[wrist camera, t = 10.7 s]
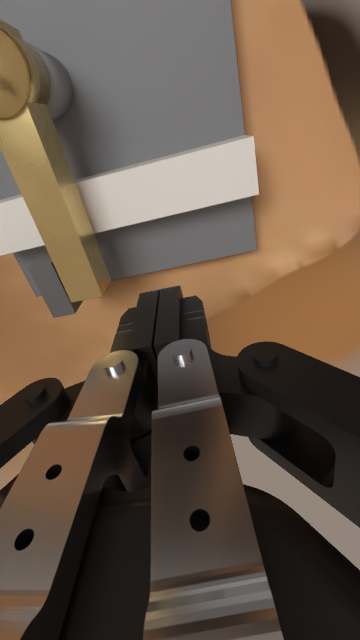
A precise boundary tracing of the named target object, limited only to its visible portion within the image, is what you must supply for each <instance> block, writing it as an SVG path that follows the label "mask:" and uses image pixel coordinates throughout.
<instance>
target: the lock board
mask: <svg viewBox="0 0 360 640" xmlns="http://www.w3.org/2000/svg"><path fill="white" fill-rule="evenodd" d="M0 19H1V20H2V21H4V22H6V23H8V24H9V25H11V26H13V27H15V28H16V29H18V30H19V31H20V33H21V36H22V39H23V41H25V42H26V43H28V44H29V45H30V46H31V47H32V48H33V49H34V50H35V51H36V52H37V53H38V55H39V56H40V58H41V59H42V61H43V63H44V65H45V67H46V70H47V73H48V76H49V81H50V96H49V100H48V103H47V107H48V110H49V112H50V115H51V118H52V121H53V123H54V126H55V129H56V131H57V134H58V137H59V140H60V142H61V145H62V148H63V150H64V153H65V156H66V159H67V161H68V164H69V167H70V170H71V172H72V175H73V178H74V180H75V183H76V186H77V189H78V191H79V194H80V197H81V199H82V202H83V205H84V208H85V210H86V213H87V216H88V219H89V221H90V224H91V227H92V229H93V232H94V235H95V238H96V240H97V243H98V246H99V249H100V251H101V254H102V257H103V259H104V262H105V265H106V268H107V270H108V273H109V276H110V278H111V281H113V280H118V279H122V278H127V277H132V276H137V275H141V274H146V273H151V272H155V271H160V270H165V269H169V268H174V267H179V266H184V265H188V264H193V263H198V262H202V261H207V260H212V259H217V258H221V257H226V256H231V255H235V254H240V253H245V252H250V251H254V250H257V245H256V235H255V226H254V216H253V207H252V198H251V196H254V195H259V188H258V177H257V166H256V156H255V145H254V136H248V135H245V132H244V122H243V113H242V103H241V94H240V85H239V75H238V66H237V56H236V47H235V38H234V28H233V19H232V9H231V0H0ZM10 253H13V254H14V256H15V258H16V259H17V261H18V263H19V265H20V267H21V269H22V271H23V272H24V274H25V276H26V278H27V280H28V282H29V284H30V286H31V287H32V289H33V291H34V293H35V295H36V297H38V296H43V298H44V300H45V302H46V304H47V306H48V308H49V310H50V312H51V313H52V315H53V317H54V318H55V317H60V316H65V315H70V314H75V313H76V311H77V310H78V308H79V306H80V305H81V303H82V301H83V300H82V301H76V302H71V301H70V299H69V296H68V294H67V292H66V290H65V288H64V285H63V283H62V281H61V279H60V277H59V275H58V272H57V270H56V268H55V266H54V264H53V262H52V259H51V257H50V255H49V253H48V251H47V249H46V246H45V244H44V242H43V240H42V238H41V235H40V233H39V231H38V229H37V227H36V225H35V222H34V220H33V218H32V216H31V214H30V212H29V209H28V207H27V205H26V203H25V201H24V199H23V196H22V194H21V192H20V190H19V188H18V185H17V183H16V181H15V179H14V177H13V175H12V172H11V170H10V168H9V166H8V164H7V162H6V159H5V157H4V155H3V153H2V151H1V149H0V256H1V255H5V254H10Z"/></svg>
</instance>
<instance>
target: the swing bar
mask: <svg viewBox="0 0 360 640" xmlns="http://www.w3.org/2000/svg"><path fill="white" fill-rule="evenodd" d="M49 96H50V81H49V76H48V73H47V70H46V67H45V65H44V63H43V61H42V59H41V58H40V56H39V55H38V53H37V52H36V51H35V50H34V49H33V48H32V47H31V46H30V45H29V44H28V43H26V42H25V41H23V39H22V36H21V33H20V31H19V30H18V29H16V28H15V27H13V26H11V25H9V24H8V23H6V22H4V21H2V20H1V19H0V149H1V151H2V153H3V155H4V157H5V159H6V162H7V164H8V166H9V168H10V170H11V172H12V175H13V177H14V179H15V181H16V183H17V185H18V188H19V190H20V192H21V194H22V196H23V199H24V201H25V203H26V205H27V207H28V209H29V212H30V214H31V216H32V218H33V220H34V222H35V225H36V227H37V229H38V231H39V233H40V235H41V238H42V240H43V242H44V244H45V246H46V249H47V251H48V253H49V255H50V257H51V259H52V262H53V264H54V266H55V268H56V270H57V272H58V275H59V277H60V279H61V281H62V283H63V285H64V288H65V290H66V292H67V294H68V296H69V299H70V301H71V302H76V301H82V300H87V299H92V298H97V297H102V296H103V294H104V292H105V290H106V288H107V287H108V285H109V283H110V281H111V278H110V276H109V273H108V270H107V268H106V265H105V262H104V259H103V257H102V254H101V251H100V249H99V246H98V243H97V240H96V238H95V235H94V232H93V229H92V227H91V224H90V221H89V219H88V216H87V213H86V210H85V208H84V205H83V202H82V199H81V197H80V194H79V191H78V189H77V186H76V183H75V180H74V178H73V175H72V172H71V170H70V167H69V164H68V161H67V159H66V156H65V153H64V150H63V148H62V145H61V142H60V140H59V137H58V134H57V131H56V129H55V126H54V123H53V121H52V118H51V115H50V112H49V110H48V107H47V103H48V100H49Z"/></svg>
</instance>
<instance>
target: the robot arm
mask: <svg viewBox="0 0 360 640" xmlns="http://www.w3.org/2000/svg"><path fill="white" fill-rule="evenodd" d="M230 434H234V435H240V436H247V437H249V439H250V441H251V443H252V444H253V445H254V446H255V447H256V448H257V449H259V450H260V451H261V452H263V453H264V454H265V455H266V456H268V457H269V458H270V459H272V460H273V461H274V462H276V463H277V464H278V465H279V466H281V467H282V468H283V469H285V470H286V471H287V472H288V473H290V474H291V475H292V476H294V477H295V478H296V479H297V480H299V481H300V482H301V483H303V484H304V485H305V486H307V487H308V488H309V489H310V490H312V491H313V492H314V493H316V494H317V495H318V496H320V497H321V498H322V499H323V500H325V501H326V502H327V503H329V504H330V505H331V506H332V507H334V508H335V509H336V510H338V511H339V512H340V513H341V514H343V515H344V516H345V517H347V518H348V519H349V520H350V521H352V522H353V523H354V524H356V525H357V526H358V527H360V377H358V376H355V375H353V374H351V373H348V372H346V371H344V370H341V369H339V368H337V367H334V366H332V365H329V364H327V363H325V362H322V361H320V360H317V359H315V358H313V357H311V356H308V355H306V354H304V353H301V352H299V351H296V350H294V349H292V348H289V347H287V346H285V345H282V344H279V343H275V342H258V343H254V344H251V345H249V346H247V347H245V348H244V349H243V350H241V352H240V353H239V354H238V356H237V357H232V356H225V355H221V354H218V353H216V352H214V351H213V350H212V349H211V345H210V338H209V332H208V327H207V323H206V317H205V312H204V307H203V302H202V301H201V300H200V299H199V298H198V297H197V296H191V297H186V298H183V295H182V291H181V287H180V286H175V287H170V288H165V289H161V290H155V291H150V292H145V293H140V295H139V299H138V303H137V307H135V308H129V309H128V310H127V311H126V312H125V313H124V314H123V316H122V317H121V319H120V322H119V327H118V329H117V334H116V335H115V338H114V342H113V345H112V348H111V351H110V353H109V354H107V355H105V356H103V357H102V358H100V359H99V360H98V361H97V362H96V363H95V364H94V365H93V367H92V368H91V370H90V372H89V375H88V377H87V379H86V380H85V381H83V382H80V383H78V384H75V385H73V386H70V387H68V388H65V389H64V387H63V385H62V383H61V382H60V381H59V380H58V379H56V378H45V379H41V380H38V381H36V382H33V383H31V384H30V385H28V386H26V387H25V388H23V389H22V390H21V391H19V392H18V393H17V394H15V395H14V396H12V397H11V398H10V399H8V400H7V401H6V402H4V403H3V404H1V405H0V468H1V467H2V466H4V465H5V464H6V463H7V462H8V461H9V460H11V459H12V458H13V457H14V456H15V455H16V454H17V453H18V452H20V451H21V450H22V449H23V448H25V447H26V446H27V445H28V444H29V443H30V442H33V443H34V447H33V448H32V450H31V452H30V454H29V456H28V458H27V460H26V462H25V463H24V465H23V467H22V469H21V471H20V473H19V474H18V475H17V476H16V477H15V478H14V479H13V480H11V481H10V482H9V483H8V484H7V485H6V486H5V487H4V488H2V489H1V490H0V640H360V570H359V569H358V568H357V567H355V566H354V565H353V564H352V563H351V562H350V561H349V560H348V559H347V558H346V557H345V556H343V555H342V554H341V553H340V552H339V551H338V550H337V549H336V548H335V547H334V546H332V544H330V543H329V542H328V541H327V540H326V539H325V538H324V537H323V536H322V535H321V534H319V533H318V532H317V531H316V530H315V529H314V528H313V527H312V526H311V525H310V524H309V523H308V522H307V521H305V520H304V519H303V518H302V517H301V516H300V515H299V514H298V513H296V512H295V511H294V510H293V509H292V508H291V507H289V506H288V505H287V504H285V503H284V502H282V501H281V500H280V499H278V498H276V497H274V496H272V495H271V494H269V493H267V492H264V491H262V490H259V489H257V488H254V487H251V486H247V485H243V483H242V479H241V475H240V472H239V468H238V464H237V460H236V456H235V452H234V449H233V444H232V440H231V437H230Z"/></svg>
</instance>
